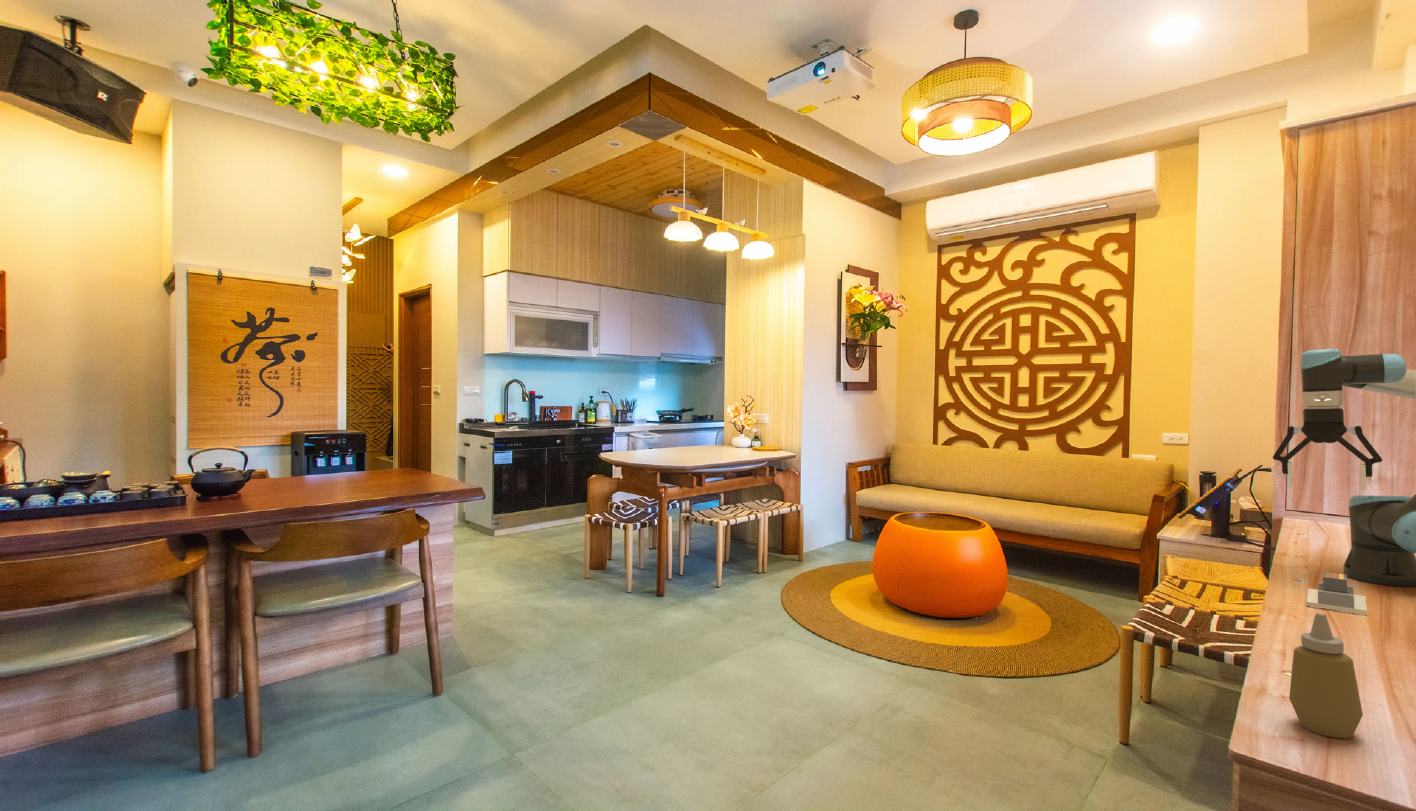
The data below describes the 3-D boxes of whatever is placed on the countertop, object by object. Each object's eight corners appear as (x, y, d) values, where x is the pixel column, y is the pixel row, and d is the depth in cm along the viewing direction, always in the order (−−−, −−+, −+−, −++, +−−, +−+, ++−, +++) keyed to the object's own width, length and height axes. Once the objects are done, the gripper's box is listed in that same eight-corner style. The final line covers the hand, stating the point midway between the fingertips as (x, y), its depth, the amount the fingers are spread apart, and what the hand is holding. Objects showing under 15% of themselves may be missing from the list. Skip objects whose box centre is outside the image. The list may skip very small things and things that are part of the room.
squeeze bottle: (1380, 743, 91) (1374, 622, 91) (1325, 744, 91) (1320, 624, 91) (1326, 715, 99) (1321, 605, 99) (1276, 717, 99) (1271, 607, 99)
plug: (1324, 596, 151) (1323, 571, 151) (1347, 599, 148) (1346, 574, 148) (1323, 602, 147) (1322, 576, 147) (1347, 605, 144) (1346, 579, 144)
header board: (1308, 592, 158) (1308, 576, 158) (1365, 600, 151) (1364, 583, 151) (1306, 606, 148) (1306, 589, 148) (1367, 615, 141) (1366, 597, 141)
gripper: (1258, 409, 167) (1261, 486, 167) (1394, 406, 149) (1398, 493, 149) (1260, 408, 172) (1263, 483, 172) (1392, 406, 154) (1396, 489, 154)
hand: (1326, 488), depth 161 cm, fingers open, 13 cm apart
